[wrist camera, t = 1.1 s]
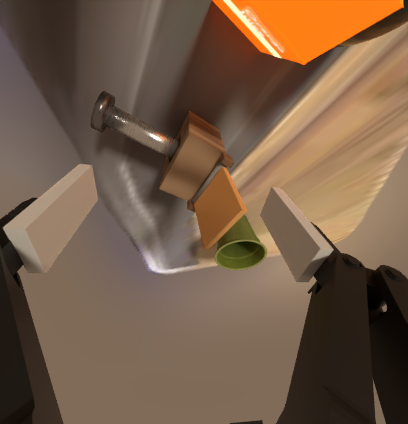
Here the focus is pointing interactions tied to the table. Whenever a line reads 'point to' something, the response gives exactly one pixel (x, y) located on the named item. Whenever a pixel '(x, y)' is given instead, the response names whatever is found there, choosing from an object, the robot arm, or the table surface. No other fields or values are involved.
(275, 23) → the orange juice
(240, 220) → the plant pot
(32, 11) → the table surface
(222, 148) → the hitch block
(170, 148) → the pin
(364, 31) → the pump dispenser
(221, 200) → the plate
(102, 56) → the table surface
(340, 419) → the robot arm
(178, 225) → the table surface
